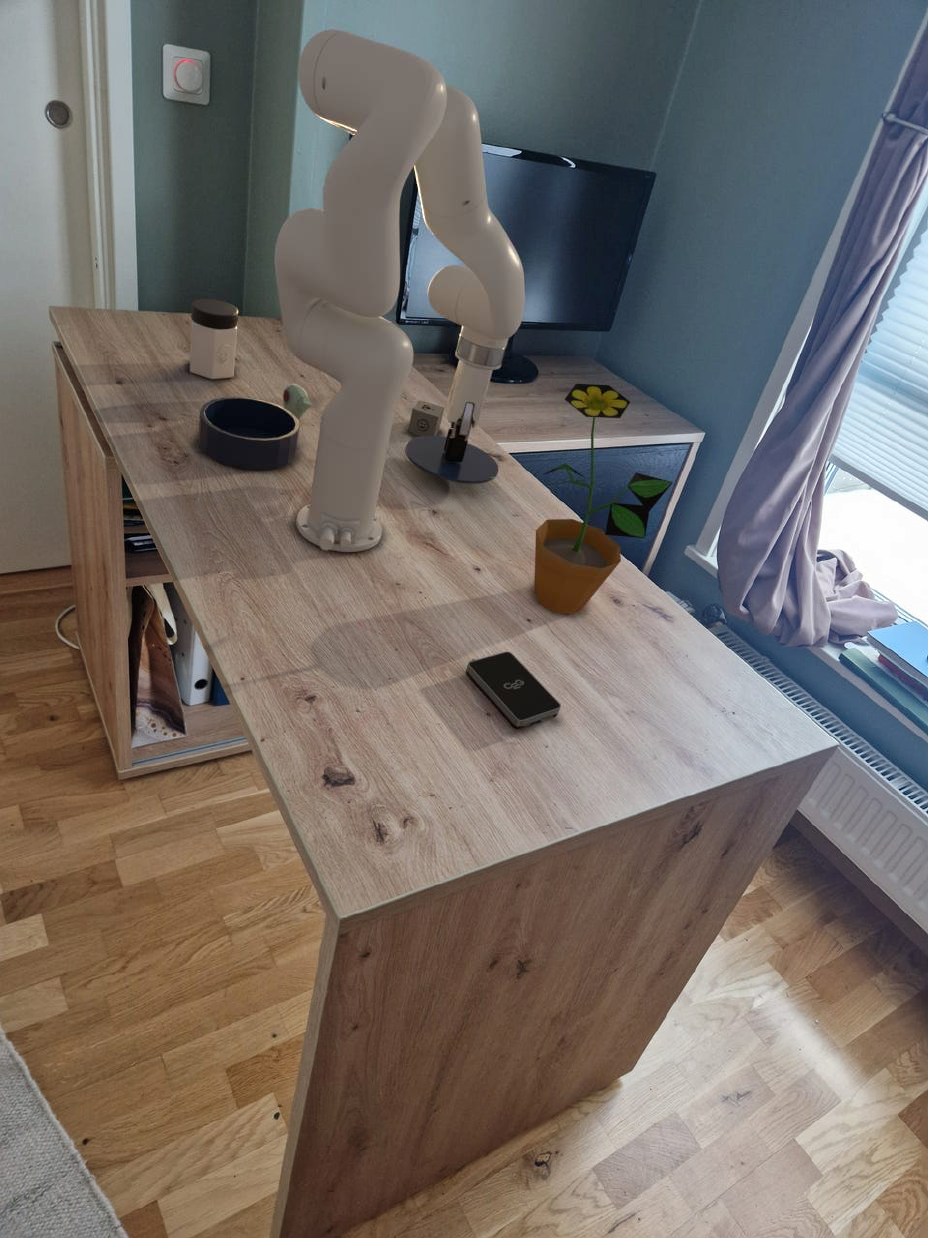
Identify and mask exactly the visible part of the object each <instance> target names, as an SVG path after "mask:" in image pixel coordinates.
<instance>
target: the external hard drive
mask: <svg viewBox="0 0 928 1238" xmlns="http://www.w3.org/2000/svg"><path fill="white" fill-rule="evenodd" d="M465 675H466V676H467V677H468V679H469V680H470V681H471V682H472V683H473V684H474V686H476V688H477V689H478V690H479V691H480V692H481V693H482V695H483V696H484V697H485V698H486V699H487V700H488V701H489V702H490V703H491V704H492V706H493V707H494V708H495V709H496V710H497V711H498V712H499V714H500V715H501V716H502V717H503V718H504V720H505V721H506V722H507V723H508V724H509V725H510V726H511V727H512V729H514V730H516V731H519V730H523V729H525V728H528V727H531V726H533V725H536V724H540V723H542V722H545V721H547V720H551V719H553V718H556V717H557V716H558V715H559V712H560V710H561V707H562V705H561V703H560V702H559V701H558V700H557V699H556V698H555V697H554V696H553V694H552V693H551V692H550V691H549V690H548V689H547V688H546V687H545V686H544V685H543V684H542V683H541V682H540V681H539V680H538V679H537V678H536V677H535V676H534V674H532V673H531V671H529V669H528V668H527V667H526V666H525V665H524V664H523V663H522V662H521V661H520V659H518V658H517V657H516V656H515V655H514V654H513V652H511V651H503V652H499V653H495V654H492V655H489V656H488V655H487V656H485V657H481V658H477V659H473V660H470V661H468V663H467V666H466V668H465Z"/></svg>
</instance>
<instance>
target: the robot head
mask: <svg viewBox="0 0 928 1238" xmlns="http://www.w3.org/2000/svg"><path fill="white" fill-rule="evenodd" d="M282 401H283V408H285V409H287V410H288V411H290V412H291V413H292V414H293V415H294V416H295V417H296V418H297V419H298V421H300V420H301V419H302V418H304V417H303V416H304V415H305V413H306V411H307V410H309V409H310V408H311V407H313V404H312V403H311V401H310V399H309V395H308V392H307V391H306V390H305V389H304V387H302V386H301V385H300V384H298V383H291V384H289V385H288V384H286V386H285V389H284V390H283V394H282Z"/></svg>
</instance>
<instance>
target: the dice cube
mask: <svg viewBox="0 0 928 1238" xmlns="http://www.w3.org/2000/svg"><path fill="white" fill-rule="evenodd" d="M411 409H412V410H411V414H410V418H409V424H408V429H407V432H409V433H412V434H416V435H419V436H437V434H438V432H439V431H440V429H441V424H442V419H443V415H444V412H445V407H443V406H440V405H438V404H435V403H430V402H427V401H425V400H421V399H418V401H417V402H416V403H415V404H414V406H413V408H411Z"/></svg>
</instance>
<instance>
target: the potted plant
mask: <svg viewBox="0 0 928 1238" xmlns="http://www.w3.org/2000/svg"><path fill="white" fill-rule="evenodd" d="M564 401H566V402H567V403H568V404H569V405H571V406H572V407H573V408H574V409H576V410H577V411H578V412H579V413H581V414H582V415H583V416H584V417H585V418H592V424H591V433H590V483H585V482H584V481H586V479H587V477H586V476H585V475H583V474H582V473H580V472H578V471H577V470H575V469H574V468H572V466H570V465H568V464H566V463H563V464H561V465H558V466H556V467H554V468H553V469H551V470H549V471H546V472H544V475H546V474H550V473H553V472H557V471H561V470H564V469H565V470H566V472H567V475H568V477H569V479H570V481H564V482H556V483H550V484H548V486H557V485H563V484H569V483H572V484H573V485H577V486H579V487H580V486H581V487H584V488H588V489H589V492H588V500H587V507H586V512H585V516H584V517H583V518H584V519H583V521H579V520H576V519H573V518H561V519H560V518H559V519H558V518H556V519H555V518H553V519H546V520H545V521H543V523H542V524H541V525H540V526H539V527H537V529H535V548H534V549H535V550H534V578H533V581H534V585H533V594H534V596H535V597H536V600H537V602H538V604H539V605H541V606H542V607H544V608H546V609H548V610H549V611H551V612H553V613H558V614H564V615H570V616H571V615H573V614H575V613H578V612H580V611H582V610H583V609H584V608H585V606H586V605H587V603H589V601H590V600H591V599H592V597H593V596H594V595H595V594H596V593H597V591H598V590H599V589H600V588H601V586H602V585H603V584H604V583H605V581H606V580H607V579H608V578H609V577H610V575H611V574H612V573H613V572H614V570H615V569H616V568H617V566H618V565H619V564H620V563H621V562H622V556H621V545H620V544H619V543H618V542H616V541H615V539H613V538H612V537H611V536H614V537H626V538H635V539H636V538H637V539H646V535H647V529H648V523H649V516H650V511H651V510H652V509H653V508H654V506H655V505H656V504H657V503H658V502H659V500H661V498H662V496H663V495H664V494H665V493H666V492H667V491H668V489H669V488H670V487H671V486H672V484H673V483H674V482H673V481H670V480H667V479H663V478H658V477H655V476H651V475H648V474H644V473H640V472H637V471H636V472H635V473H634V474H633V476H632V477H631V479H630V481H629V482H628V483H627V487H625V489H623V490H622V491H621V492H620V493H619V494H618V495H617V496H616V497H615V498H614V499H613V500H612V501H610V502H607V503H605V504H603V505H600V506H597V507H595V508H593V509H592V501H593V492H594V483H595V461H594V460H595V451H594V449H595V448H594V442H595V441H594V440H595V439H594V438H595V437H594V435H595V433H594V431H595V423H596V418H606V419H621V417H622V416H623V415H624V413H625V411H626V409H627V408H628V407H629V405H630V404H631V401H630V399H628V398H626V397H625V396H623V395H622V394H621V393H620V392H618V391H617V390H616V389H614V388H613V387H612V386H610V385H609V384H595V383H575V384H574V386H573V387H572V388H571V389H570V391H569V392H568V393H567V395H566V396H565V397H564ZM571 472H573V473H575V474H577V475H579V476H581V477H583V478H586V479H585V480H581V479H580V481H579V480H576V479H575V478H574V476H573V474H572V473H571ZM541 486H542V487H545V486H546V484H544V485H541ZM628 489H629V490H630V491H631V492H632V494H633V495H634V496H635V497H636V499H637V500H638V501H639V502H640V504H632V503H620V502H617V500H618V499H620V497H621V496H622V495H623V494H624V493H625V492H626V491H627V490H628ZM609 506H610V507H609ZM607 507H609V511H608V517H607V522H606V528H605V531H603V530H602V529H601V528H598V527H596V526H594V525H590V524H588V519H589V517H590V515H591V514H594V513H596V512H599V511H601V510H602V509H604V508H607Z"/></svg>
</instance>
